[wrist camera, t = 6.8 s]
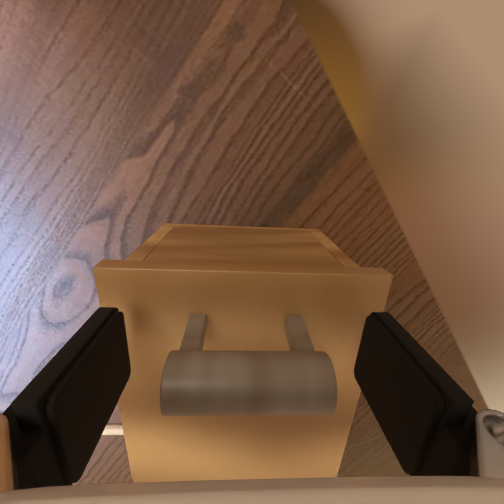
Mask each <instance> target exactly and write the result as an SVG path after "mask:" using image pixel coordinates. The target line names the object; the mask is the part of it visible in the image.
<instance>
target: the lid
mask: <svg viewBox="0 0 504 504" xmlns="http://www.w3.org/2000/svg"><path fill="white" fill-rule="evenodd" d="M93 271H94V276H95V282H96V287H97V292H98V298H99V303H100V307H116V308H118V310H119V311H122V312H123V314H124V320H125V328H126V335H127V343H128V350H129V357H130V365H131V374H130V378H129V380H128V382H127V384H126V386H125V388H124V390H123V392H122V394H121V396H120V398H119V400H118V405H119V410H120V416H121V421H122V426H123V432H124V437H125V443H126V448H127V453H128V459H129V464H130V469H131V475H132V480H133V483H139V482H171V481H203V480H241V479H280V478H322V477H337V474H338V471H339V467H340V464H341V460H342V456H343V453H344V449H345V446H346V442H347V439H348V435H349V432H350V428H351V425H352V421H353V417H354V414H355V410H356V407H357V403H358V400H359V396H360V393H361V389H360V387H359V385H358V383H357V381H356V379H355V376H354V366H355V362H356V358H357V353H358V349H359V345H360V341H361V337H362V332H363V328H364V324H365V320H366V317H367V316H370V314H371V313H372V312H383V311H384V307H385V304H386V300H387V297H388V293H389V290H390V286H391V283H392V279H393V275H392V274H391V273H389V272H388V271H387V270H386V269H385V268H374V267H340V266H306V265H272V264H238V263H204V262H170V261H136V260H102V261H100V262H99V263H98V264H97V265H95V266H94V267H93Z"/></svg>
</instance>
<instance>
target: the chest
mask: <svg viewBox="0 0 504 504" xmlns="http://www.w3.org/2000/svg"><path fill="white" fill-rule="evenodd" d="M125 260H136V261H170V262H204V263H238V264H272V265H306V266H340V267H360V266H358V265H357V264H356V263H355V262H354V261H353V260H352V259H351V258H350V257H349V256H347V255H346V254H345V253H344V252H343V251H342V250H341V249H340V248H339V247H338V246H336V245H335V244H334V243H333V242H332V241H331V240H330V239H329V238H328V237H327V236H325V235H324V234H323V233H322V232H321V231H320V230H319V229H303V228H277V227H251V226H226V225H200V224H174V223H165V224H163V225H162V226H161V227H160V228H159V229H158V230H157V231H156V232H155V233H154V234H152V235H151V236H150V237H149V238H148V239H147V240H146V241H145V242H144V243H143V244H142V245H140V246H139V247H138V248H137V249H136V250H135V251H134V252H133V253H132V254H131V255H130V256H128V257H127V258H126V259H125Z"/></svg>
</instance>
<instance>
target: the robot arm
mask: <svg viewBox="0 0 504 504" xmlns="http://www.w3.org/2000/svg"><path fill="white" fill-rule="evenodd" d="M130 374H131V365H130V357H129V350H128V343H127V335H126V328H125V320H124V314H123V312H122V311H119V310H118V308H116V307H100V308H98V309H97V310H96V311H95V312H94V314H93V315H92V316H91V317H90V318H89V319H88V320H87V321H86V322H85V323H84V324H83V326H82V327H81V328H80V329H79V330H78V331H77V332H76V333H75V334H74V335H73V336H72V338H71V339H70V340H69V341H68V342H67V343H66V344H65V345H64V346H63V347H62V348H61V350H60V351H59V352H58V353H57V354H56V355H55V356H54V357H53V358H52V359H51V360H50V362H49V363H48V364H47V365H46V366H45V367H44V368H43V369H42V370H41V371H40V372H39V374H38V375H37V376H36V377H35V378H34V379H33V380H32V381H31V382H30V383H29V384H28V386H27V387H26V388H25V389H24V390H23V391H22V392H21V393H20V394H19V395H18V396H17V398H16V399H15V400H14V401H13V402H12V403H11V405H10V406H9V407H8V408H7V409H6V410H5V411H4V412H3V414H1V413H0V504H504V413H502V412H499V411H497V410H491V409H482V410H480V411H478V412H477V411H476V410H475V409H474V408H473V407H472V404H473V402H474V401H473V400H472V399H471V398H470V397H469V396H468V394H467V393H466V392H465V391H464V390H463V389H462V388H461V387H460V386H459V385H458V384H457V383H456V382H455V381H454V380H453V379H452V378H451V377H450V376H449V375H448V374H447V373H446V372H445V371H444V370H443V369H442V367H441V366H440V365H439V364H438V363H437V362H436V361H435V360H434V359H433V358H432V357H431V356H430V355H429V354H428V353H427V352H426V351H425V350H424V349H423V348H422V347H421V346H420V345H419V344H418V343H417V341H416V340H415V339H414V338H413V337H412V336H411V335H410V334H409V333H408V332H407V331H406V330H405V329H404V328H403V327H402V326H401V325H400V324H399V323H398V322H397V321H396V320H395V319H394V318H393V317H392V316H391V314H389V313H388V312H372V313H371V314H370V316H367V317H366V320H365V324H364V328H363V332H362V337H361V341H360V345H359V349H358V353H357V358H356V362H355V366H354V376H355V379H356V381H357V383H358V385H359V387H360V389H361V391H362V393H363V395H364V396H365V398H366V400H367V402H368V404H369V406H370V408H371V410H372V412H373V414H374V415H375V417H376V419H377V421H378V423H379V425H380V427H381V429H382V431H383V433H384V434H385V436H386V438H387V440H388V442H389V444H390V446H391V448H392V450H393V452H394V453H395V455H396V457H397V459H398V461H399V463H400V465H401V467H402V468H403V470H404V471H405V473H407V474H410V476H377V477H322V478H280V479H241V480H203V481H171V482H139V483H110V484H90V485H72V483H76V482H77V481H78V480H79V479H80V478H81V476H82V474H83V472H84V470H85V468H86V466H87V464H88V462H89V460H90V458H91V456H92V454H93V452H94V449H95V447H96V445H97V443H98V441H99V439H100V437H101V435H102V433H103V431H104V429H105V427H106V425H107V423H108V421H109V419H110V417H111V415H112V413H113V411H114V409H115V407H116V405H117V402H118V400H119V398H120V396H121V394H122V392H123V390H124V388H125V386H126V384H127V382H128V380H129V378H130Z"/></svg>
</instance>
